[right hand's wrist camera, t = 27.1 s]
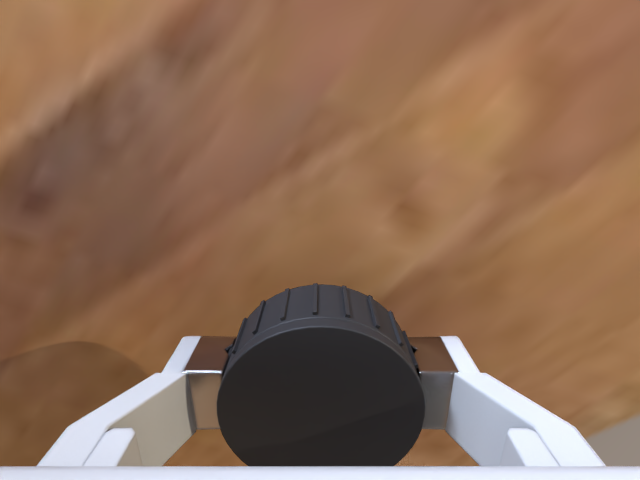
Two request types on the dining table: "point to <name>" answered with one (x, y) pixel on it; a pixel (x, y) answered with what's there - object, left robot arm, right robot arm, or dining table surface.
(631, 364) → the dining table surface
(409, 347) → the lid
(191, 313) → the dining table surface
